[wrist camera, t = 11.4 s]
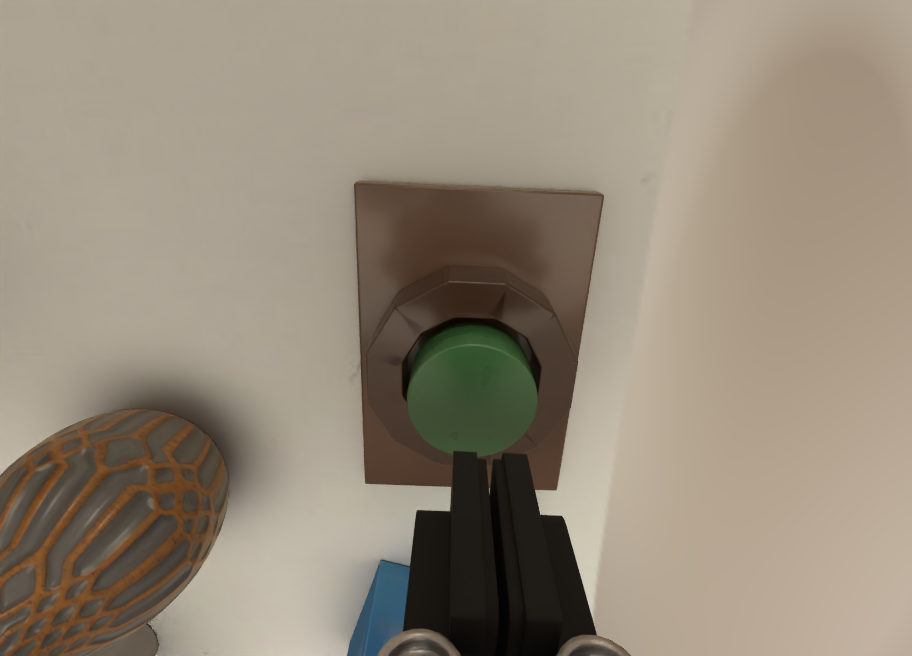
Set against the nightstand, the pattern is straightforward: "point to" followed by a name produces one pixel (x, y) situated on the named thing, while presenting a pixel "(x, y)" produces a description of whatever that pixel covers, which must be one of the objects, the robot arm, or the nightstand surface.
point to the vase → (104, 529)
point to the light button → (471, 390)
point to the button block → (469, 306)
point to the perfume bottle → (381, 610)
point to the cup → (132, 645)
